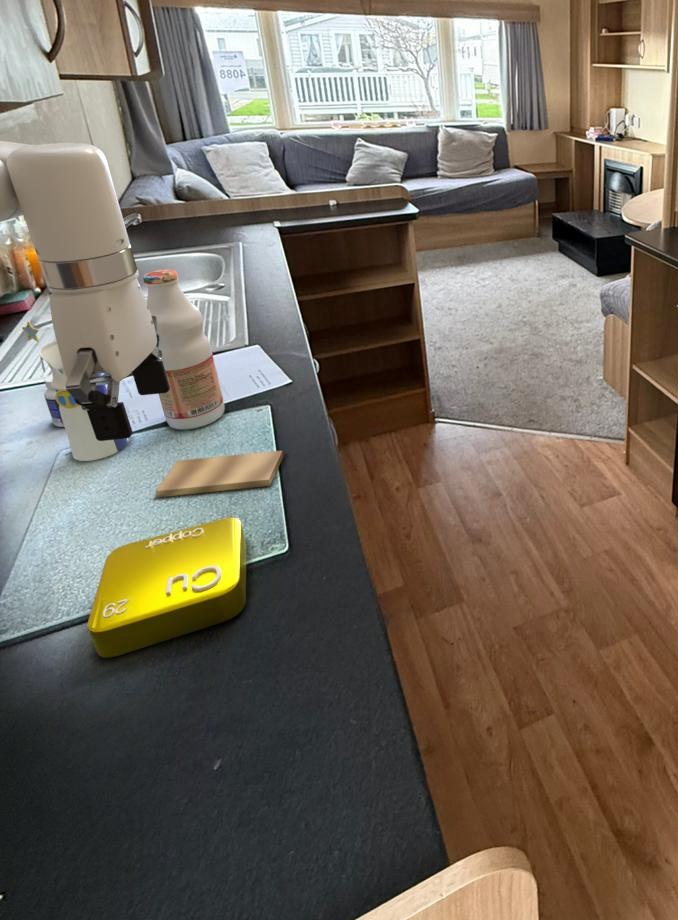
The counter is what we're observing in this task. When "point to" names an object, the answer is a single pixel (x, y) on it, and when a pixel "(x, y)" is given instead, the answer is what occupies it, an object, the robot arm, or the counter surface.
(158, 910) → the counter surface
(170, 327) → the fruit juice
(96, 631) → the element tile
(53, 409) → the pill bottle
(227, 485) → the wooden board
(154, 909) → the counter surface
